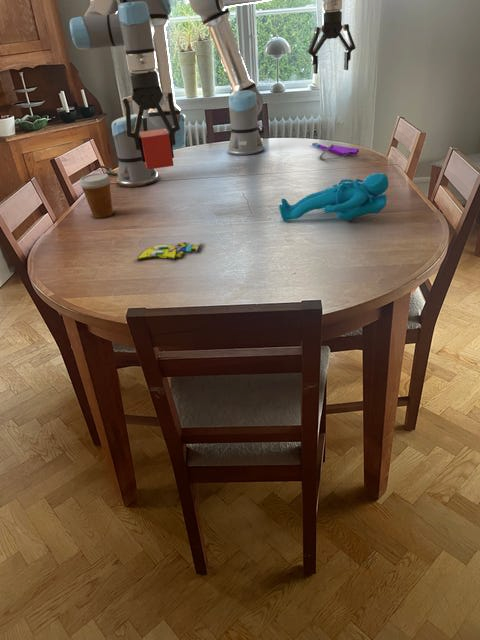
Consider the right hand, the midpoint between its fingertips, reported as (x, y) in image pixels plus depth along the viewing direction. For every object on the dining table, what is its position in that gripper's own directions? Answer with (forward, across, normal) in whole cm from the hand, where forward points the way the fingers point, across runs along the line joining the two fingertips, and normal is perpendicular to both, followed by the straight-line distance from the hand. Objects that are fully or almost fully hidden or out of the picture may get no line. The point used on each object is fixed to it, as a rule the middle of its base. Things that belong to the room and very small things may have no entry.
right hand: (330, 71), depth 200 cm
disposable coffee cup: (+28, -100, -53) cm, 117 cm away
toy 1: (+28, -83, -91) cm, 126 cm away
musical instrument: (+28, -9, -21) cm, 36 cm away
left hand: (+10, -81, -64) cm, 103 cm away
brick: (+11, -80, -64) cm, 103 cm away
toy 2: (+28, -36, -87) cm, 98 cm away
